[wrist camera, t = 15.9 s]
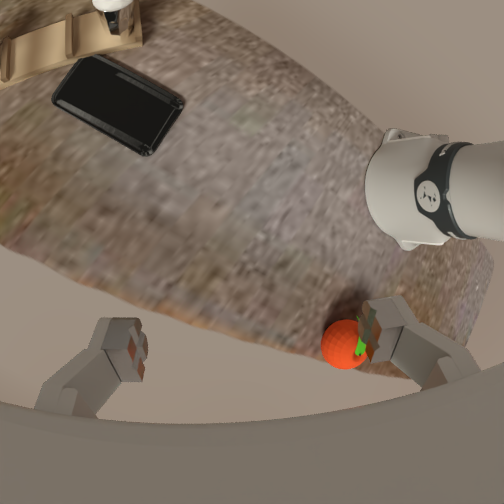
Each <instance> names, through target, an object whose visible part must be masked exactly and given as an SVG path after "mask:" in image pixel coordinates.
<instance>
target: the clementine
mask: <svg viewBox="0 0 504 504" xmlns="http://www.w3.org/2000/svg"><path fill="white" fill-rule="evenodd" d="M356 316H357V315H356ZM357 318H358V317H357ZM358 321H359V318H358ZM365 348H366V344H364V343H363V342H361V339H360V337H359V333H358V322H357V321H354V320H348V319H345V320H340V321H337V322H335V323H333V324H332V325H330V326H329V327H328V328H327V330H326V331H325V333H324V334H323V337H322V340H321V350H322V355H323V356H324V358H325V360H326V361H327V362H328V363H329V364H330V365H332V366H333V367H335V368H339V369H351V368H354V367H356V366H358V365H360V364H361V363H362V362H363V361H364V360H365V359H366V358H367V354H366V352H365Z"/></svg>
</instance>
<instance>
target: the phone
mask: <svg viewBox="0 0 504 504" xmlns="http://www.w3.org/2000/svg"><path fill="white" fill-rule="evenodd" d="M51 100H52V103H53V105H54V106H56V107H57V108H59V109H61V110H62V111H64V112H66V113H68V114H70V115H71V116H73V117H75V118H77V119H78V120H80V121H82V122H84V123H86V124H87V125H89V126H91V127H93V128H94V129H96V130H98V131H100V132H101V133H103V134H105V135H107V136H108V137H110V138H112V139H114V140H115V141H117V142H119V143H121V144H122V145H124V146H126V147H127V148H129V149H131V150H133V151H134V152H136V153H138V154H140V155H141V156H146V157H147V156H150V155H152V154H153V153H154V152H155V151H156V149H157V147H158V146H159V144H160V143H161V141H162V140H163V138H164V137H165V135H166V134H167V132H168V131H169V129H170V128H171V126H172V125H173V123H174V122H175V120H176V119H177V117H178V116H179V115H180V113H181V111H182V109H183V103H182V101H181V100H180V99H179V98H177V97H176V96H174V95H172V94H170V93H169V92H167V91H165V90H163V89H162V88H160V87H158V86H156V85H154V84H153V83H151V82H149V81H147V80H145V79H144V78H142V77H140V76H138V75H136V74H134V73H132V72H131V71H129V70H127V69H125V68H123V67H121V66H119V65H117V64H115V63H113V62H111V61H109V60H107V59H105V58H103V57H101V56H99V55H97V54H94V55H92V56H89V57H85V58H80V59H78V60H77V62H76V63H75V64H74V66H73V67H72V68H71V69H70V71H69V72H68V73H67V75H66V76H65V78H64V79H63V80H62V82H61V83H60V85H59V86H58V87H57V89H56V90H55V92H54V93H53V95H52V98H51Z"/></svg>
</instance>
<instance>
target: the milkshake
mask: <svg viewBox="0 0 504 504" xmlns="http://www.w3.org/2000/svg"><path fill="white" fill-rule="evenodd" d="M135 1H136V0H92V3H93V5H94V7H95V9H96V12H97V14H98V16H99V18H100V21H101V24H102V26H103V29H104V31H105V34H106V36H107V37H108V38H109V39H111V40H112V41H121V40H123V39H125V38H127V37H128V36H129V35H130V33H131V31H132V29H133V17H134V8H135Z"/></svg>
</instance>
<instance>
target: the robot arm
mask: <svg viewBox="0 0 504 504" xmlns="http://www.w3.org/2000/svg"><path fill="white" fill-rule="evenodd" d="M398 136H399V138H398ZM365 194H366V201H367V205H368V208H369V211H370V214H371V216H372V218H373V220H374V221H375V223H376V224H377V225H378V227H379V228H380V229H381V230H382V231H384V232H385V233H386V234H388V235H390V236H392V237H393V238H395V239H396V241H397V242H398V244H399V245H400V247H401V248H402V249H403V250H406V251H410V250H412V249H414V248H415V247H417V246H418V245H420V244H431V245H443V243H444V242H446V241H447V240H449V239H450V238H451V237H454V238H456V239H463V240H465V239H475V238H477V237H480V238H486V239H492V240H498V241H504V141H499V142H493V143H485V144H477V145H474V144H471V143H468V142H453V143H449V137H448V136H447V135H435V134H430V135H425V136H423V135H419V134H416V133H412V132H407V131H404V130H399V129H395V128H392V129H388V130H387V131H386V133H385V135H384V139H383V143H382V145H381V147H380V148H379V149H378V150H377V152H376V153H375V154H374V156H373V157H372V159H371V161H370V163H369V166H368V169H367V173H366V179H365ZM361 309H362V311H363V314H362V315H361V316H360V317H359V321H358V333H359V337H360V339H361V342H363V343H364V344H366V348H365V352H366V354H367V356H368V359H369V361H370V363H376V362H382V361H388V360H391V362H392V363H393V364H395V365H396V366H397V367H398V368H399V369H401V370H402V371H403V372H404V373H405V374H406V375H408V376H409V377H410V378H411V379H412V380H414V381H415V382H416V383H417V384H418V385H420V386H421V387H422V389H421V390H420V392H417V393H413V394H410V395H406V396H402V397H398V398H394V399H391V400H386V401H382V402H378V403H373V404H368V405H364V406H359V407H354V408H349V409H344V410H338V411H333V412H327V413H321V414H314V415H307V416H300V417H292V418H284V419H274V420H263V421H251V422H235V423H212V424H164V423H161V424H160V423H140V422H125V421H113V420H103V419H98V418H97V416H96V415H95V414H96V413H97V412H98V411H99V409H100V408H101V407H102V406H103V405H104V403H105V402H106V401H107V400H108V399H109V397H110V396H111V395H112V394H113V392H114V391H115V390H116V389H117V388H118V386H119V385H120V384H121V382H142V381H143V376H144V371H145V367H144V364H143V361H145V360H146V359H147V355H148V343H147V338H146V335H145V334H144V333H143V332H142V331H141V328H142V324H141V321H140V319H139V318H100V319H99V320H98V322H97V325H96V328H95V330H94V333H93V336H92V338H91V341H90V343H89V346H88V349H84V350H82V351H81V352H80V353H79V354H78V355H76V356H75V357H74V358H73V359H72V360H70V361H69V362H68V363H67V364H66V365H65V366H63V367H62V368H61V369H60V370H59V371H57V372H56V373H55V374H54V375H53V376H52V377H50V378H49V379H48V380H47V381H46V382H44V383H43V385H42V388H41V391H40V393H39V396H38V399H37V402H36V404H35V407H34V409H32V408H27V407H22V406H18V405H13V404H9V403H5V402H1V401H0V504H504V362H503V363H500V364H498V365H496V366H493V367H491V368H488V369H486V370H483V371H481V370H480V368H479V366H478V365H477V363H476V361H475V360H474V358H473V357H472V355H471V353H470V352H469V350H468V349H467V348H465V347H463V346H462V345H460V344H458V343H456V342H455V341H453V340H451V339H450V338H448V337H446V336H445V335H443V334H441V333H439V332H438V331H436V330H434V329H433V328H431V327H429V326H427V325H426V324H424V323H419V322H418V320H417V319H416V317H415V316H414V314H413V312H412V311H411V309H410V308H409V306H408V305H407V303H406V301H405V300H404V298H403V297H402V296H400V295H398V296H392V297H386V298H379V299H372V300H365V301H364V302H363V304H362V308H361Z"/></svg>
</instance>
